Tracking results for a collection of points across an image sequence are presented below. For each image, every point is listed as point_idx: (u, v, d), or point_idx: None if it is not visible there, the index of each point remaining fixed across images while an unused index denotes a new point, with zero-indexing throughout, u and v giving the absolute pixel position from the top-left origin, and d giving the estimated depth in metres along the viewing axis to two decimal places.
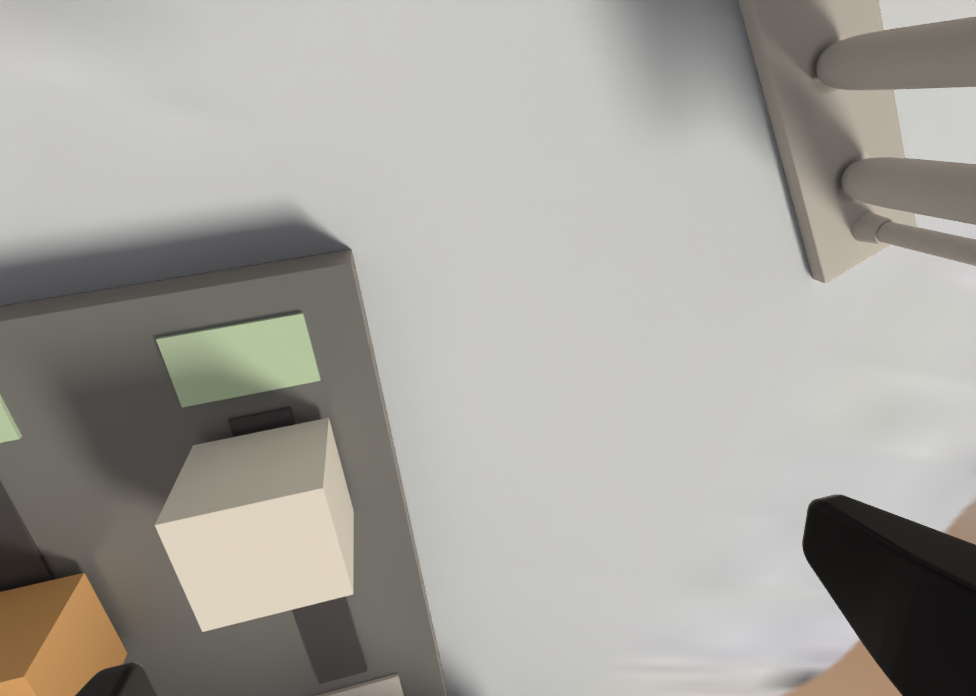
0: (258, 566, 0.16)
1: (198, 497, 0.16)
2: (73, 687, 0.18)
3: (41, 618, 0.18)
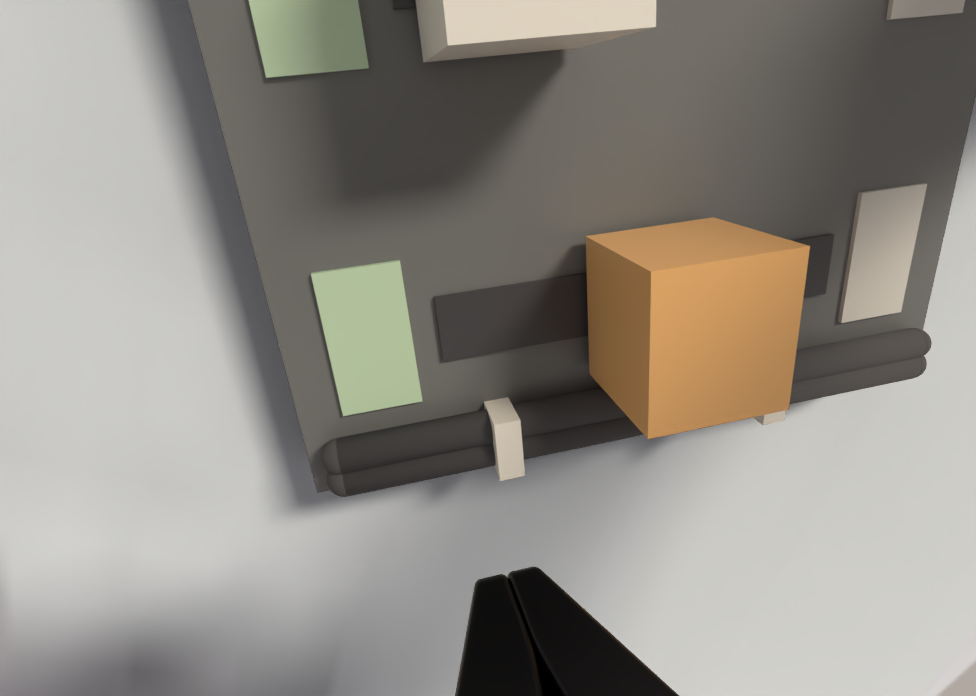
0: None
1: None
2: (706, 246, 0.14)
3: (610, 269, 0.15)
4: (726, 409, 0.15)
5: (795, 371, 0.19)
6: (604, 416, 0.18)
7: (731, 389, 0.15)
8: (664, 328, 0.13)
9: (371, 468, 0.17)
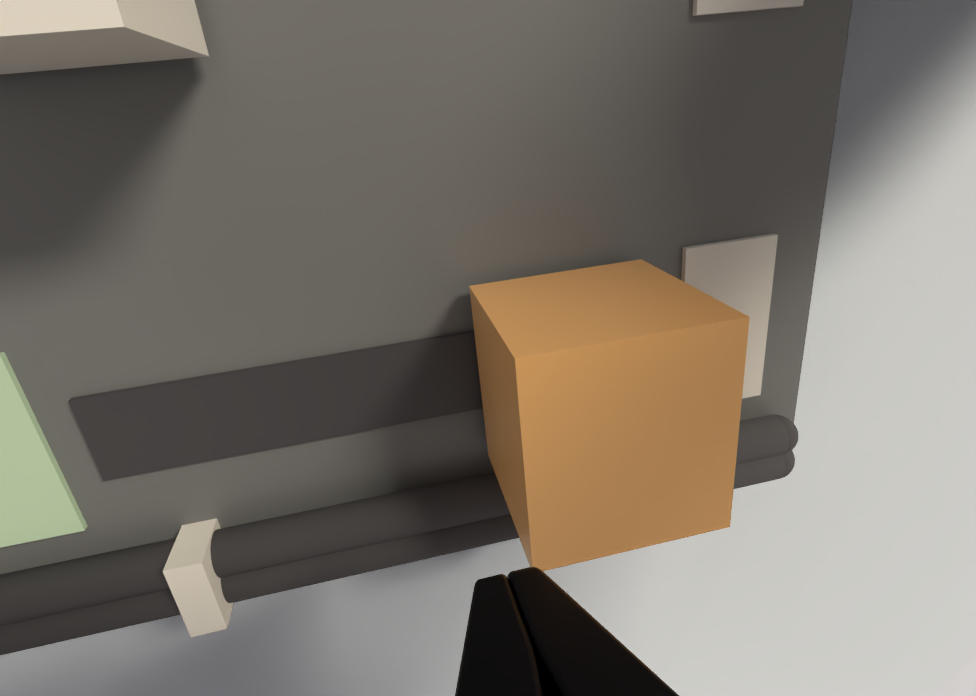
0: None
1: None
2: (611, 311, 0.10)
3: (488, 338, 0.11)
4: (640, 531, 0.11)
5: None
6: (339, 546, 0.14)
7: (648, 505, 0.11)
8: (542, 433, 0.09)
9: (7, 624, 0.13)
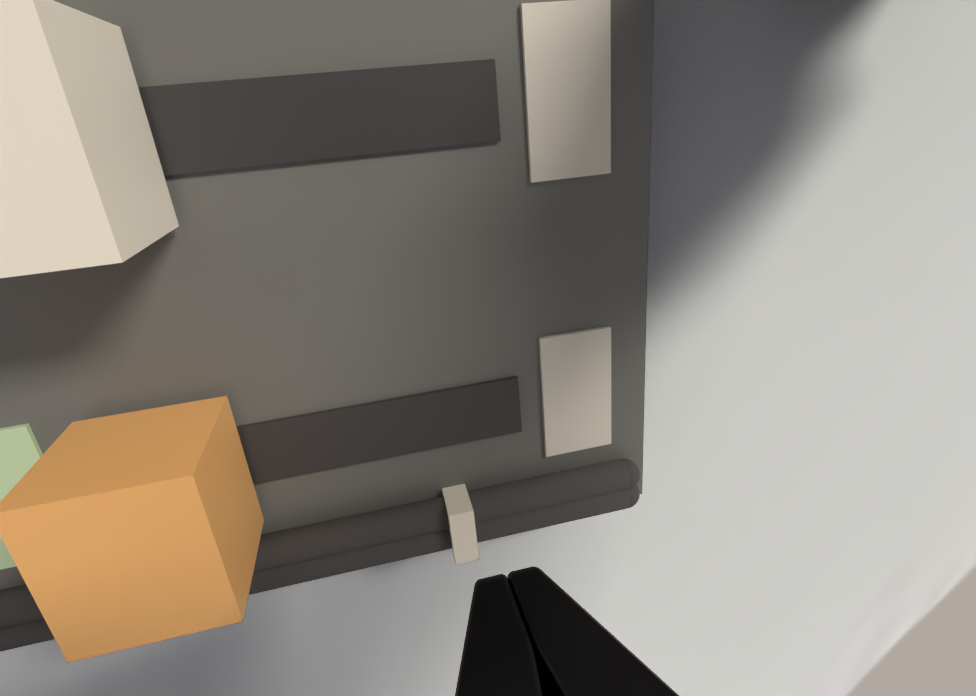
0: None
1: None
2: (119, 462, 0.13)
3: None
4: (158, 628, 0.14)
5: (487, 511, 0.19)
6: (278, 563, 0.18)
7: (157, 609, 0.14)
8: (35, 563, 0.13)
9: (24, 623, 0.17)
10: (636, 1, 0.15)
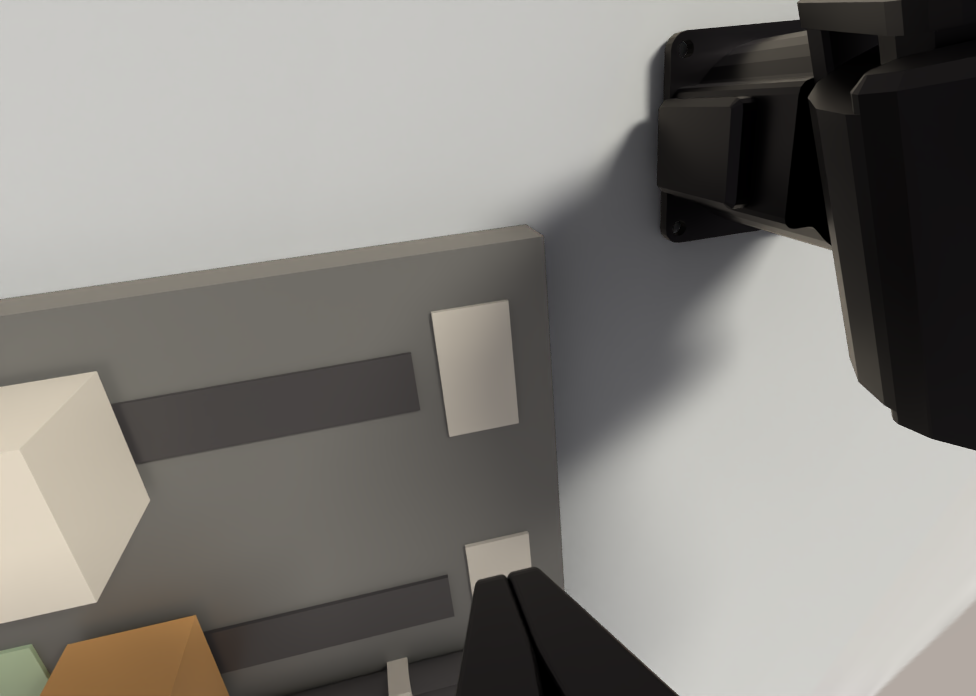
0: None
1: None
2: None
3: None
4: None
5: (424, 686, 0.22)
6: None
7: None
8: None
9: None
10: (532, 298, 0.18)
